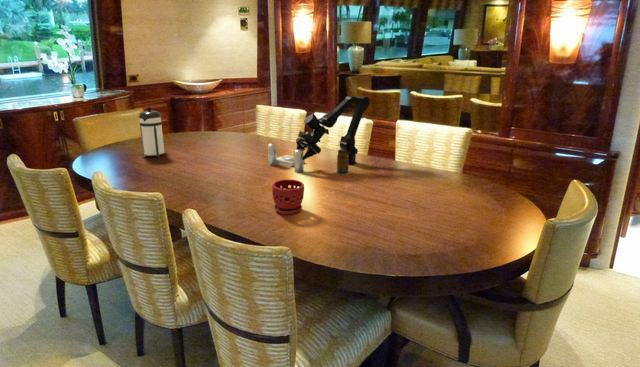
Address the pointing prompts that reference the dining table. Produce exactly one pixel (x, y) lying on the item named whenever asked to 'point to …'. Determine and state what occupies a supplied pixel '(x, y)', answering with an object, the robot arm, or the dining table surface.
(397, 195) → the dining table surface
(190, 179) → the dining table surface
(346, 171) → the condiment
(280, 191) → the plant pot
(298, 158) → the shiny silver cylinder
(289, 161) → the scale
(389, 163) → the dining table surface
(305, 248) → the dining table surface
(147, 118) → the coffee press
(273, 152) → the cylinder
